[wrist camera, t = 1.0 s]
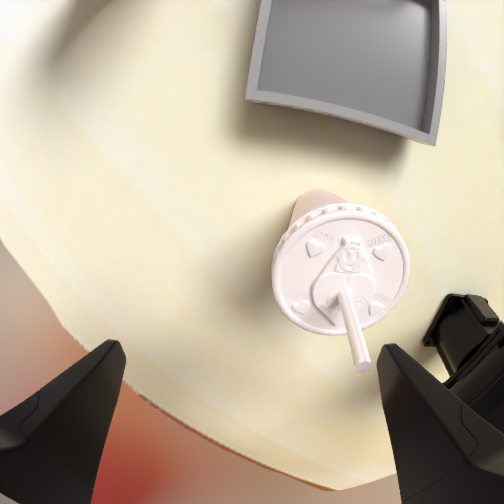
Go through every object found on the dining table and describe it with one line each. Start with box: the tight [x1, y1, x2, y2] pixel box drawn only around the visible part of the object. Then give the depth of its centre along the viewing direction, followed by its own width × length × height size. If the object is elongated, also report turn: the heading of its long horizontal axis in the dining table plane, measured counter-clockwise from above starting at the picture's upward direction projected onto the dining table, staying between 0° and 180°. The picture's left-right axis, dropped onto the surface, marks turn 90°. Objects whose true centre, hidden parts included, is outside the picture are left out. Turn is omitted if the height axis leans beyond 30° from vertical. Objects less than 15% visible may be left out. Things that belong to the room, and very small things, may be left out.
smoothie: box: [271, 188, 410, 372], centre depth 14 cm, size 6×6×14 cm
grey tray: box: [245, 0, 447, 146], centre depth 11 cm, size 13×12×8 cm
